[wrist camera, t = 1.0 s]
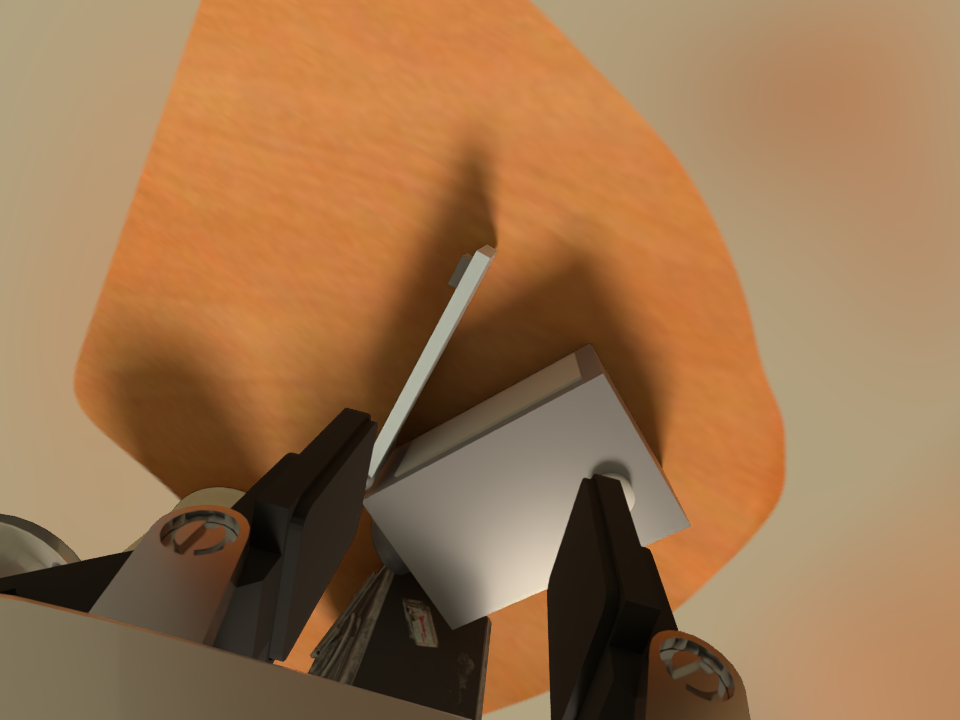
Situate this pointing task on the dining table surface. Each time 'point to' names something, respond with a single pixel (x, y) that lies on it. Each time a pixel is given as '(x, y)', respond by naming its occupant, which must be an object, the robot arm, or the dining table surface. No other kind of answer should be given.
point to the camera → (406, 648)
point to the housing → (512, 488)
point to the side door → (431, 353)
